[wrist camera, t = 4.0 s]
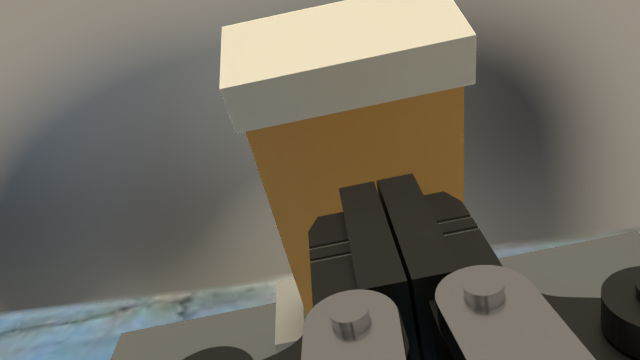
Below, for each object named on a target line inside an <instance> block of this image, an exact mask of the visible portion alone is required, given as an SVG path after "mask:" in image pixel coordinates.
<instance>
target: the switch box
mask: <svg viewBox="0 0 640 360" xmlns="http://www.w3.org/2000/svg"><path fill="white" fill-rule="evenodd" d="M499 261H500V263H501V264H502V266H503V267H506V268H509V269H512V270H515V271H517V272H519V273H521V274H522V275H524V276H525V277H527V278H528V279H529V280H530V281H531V282H532V284H533V285H534V286H535V287H536V288H537V290H538V291H539V292H540V293H542V294H546V295H551V296H559V297H591V298H601V287H602V284H603V282H604V281H605V280H606V279H607V278H608V277H609V276H610V275H611V274H613V273H615V272H617V271H620V270H622V269H625V268H630V267H635V266H640V234H639V233H638V232H637V231H636V232H631V233H626V234H621V235H616V236H611V237H606V238H601V239H596V240H591V241H586V242H581V243H575V244H570V245H565V246H560V247H555V248H550V249H545V250H540V251H535V252H530V253H525V254H520V255H515V256H510V257H505V258H500V259H499ZM306 316H307V315H306V312H305V309H304V306H303V303H302V300H301V297H300V294H299V291H298V288H297V285H296V282H295V279H290V280H285V281H280V282H277V288H276V303H273V304H267V305H262V306H257V307H252V308H247V309H242V310H237V311H232V312H227V313H222V314H217V315H212V316H207V317H202V318H197V319H192V320H187V321H182V322H177V323H172V324H166V325H161V326H156V327H151V328H146V329H141V330H136V331H131V332H126V333H121V336H120V338H119V341H118V343H117V345H116V348H115V350H114V353H113V355H112V358H111V360H183V359H184V358H186V357H188V356H190V355H192V354H193V353H196V352H198V351H201V350H204V349H207V348H211V347H218V346H231V347H236V348H240V349H242V350H244V351H246V352H247V353H248V354H250V355H251V357H252V358H253V359H254V360H263V359H265V358H268V357H270V356H272V355H274V354H277V353H279V352H281V351H282V350H284V349H286V348H288V347H289V346H291V345H292V344H293V343H295V342H296V341H297V340H298V339H299V338H300V337H301V336H302V335H303V326H304V321H305V318H306Z"/></svg>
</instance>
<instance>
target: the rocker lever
mask: <svg viewBox="0 0 640 360" xmlns="http://www.w3.org/2000/svg"><path fill="white" fill-rule="evenodd" d="M220 65H221V66H220V92H221V95H222V97H223V101H224V103H225V106H226V109H227V112H228V115H229V118H230V120H231V123H232V126H233V129H234V132H235V134H237V133H242V132H246V135H247V138H248V141H249V144H250V147H251V150H252V152H253V156H254V158H255V162H256V165H257V168H258V171H259V174H260V177H261V179H262V183H263V186H264V189H265V192H266V195H267V198H268V201H269V204H270V207H271V210H272V213H273V216H274V219H275V222H276V225H277V228H278V231H279V234H280V237H281V240H282V243H283V246H284V249H285V252H286V254H287V258H288V261H289V264H290V267H291V270H292V273H293V276H294V279H295V282H296V285H297V288H298V291H299V294H300V297H301V300H302V303H303V306H304V309H305V312H306V315H307V314H308V313H309V312H310V310H311V309H312V308H313V301H312V285H311V270H310V254H309V250H310V249H309V238H308V231H309V230H310V228H311V226H312V225H313V223H314V222H315V220H316V219H317V217H319V216H324V215H329V214H334V213H339V212H343V208H342V203H341V198H340V192H339V188H342V187H347V186H352V185H357V184H362V183H367V182H372V181H374V183H375V186H376V189H377V180H381V179H386V178H391V177H396V176H401V175H406V174H411V173H412V174H413V175H414V177H415V179H416V181H417V183H418V185H419V187H420V189H421V191H422V193H423V195H428V194H433V193H438V192H442V191H444V192H446V193H448V194H450V195H452V196H453V197H455V198H457V199H459V200H461V201H462V202H463V204H464V86H467V85H472V84H475V82H476V34H475V32H474V31H473V29H472V28H471V26H470V25H469V23H468V22H467V20H466V19H465V17H464V16H463V14H462V13H461V11H460V10H459V8H458V7H457V5H456V4H455V2H454V1H453V0H344V1H340V2H336V3H330V4H326V5H321V6H317V7H312V8H307V9H303V10H298V11H293V12H289V13H284V14H280V15H275V16H271V17H266V18H261V19H256V20H252V21H247V22H242V23H238V24H233V25H228V26H224V27H222V39H221V64H220ZM377 192H378V190H377Z"/></svg>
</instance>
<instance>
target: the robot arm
mask: <svg viewBox="0 0 640 360" xmlns="http://www.w3.org/2000/svg"><path fill="white" fill-rule="evenodd" d="M377 190H378V192H377ZM339 192H340V198H341V203H342V208H343V212H339V213H334V214H329V215H324V216H319V217H317V219H316V220H315V222H314V223H313V225H312V226H311V228H310V230H309V231H308V238H309V249H310V250H309V254H310V270H311V285H312V301H313V308H312V309H311V310H310V312H309V313H308V314H307V316H306V318H305V321H304V326H303V335H302V336H301V337H300V338H299V339H298V340H297V341H296V342H295V343H293V344H292V345H291V346H289V347H288V348H286V349H284V350H282V351H281V352H279V353H277V354H274V355H272V356H270V357H268V358H265V359H263V360H640V266H635V267H630V268H625V269H622V270H620V271H617V272H615V273H613V274H611V275H610V276H609V277H608V278H607V279H606V280H605V281H604V282H603V284H602V287H601V298H591V297H559V296H551V295H546V294H542V293H540V292H539V291H538V290H537V288H536V287H535V286H534V285H533V284H532V282H531V281H530V280H529V279H528V278H527V277H525V276H524V275H522V274H521V273H519V272H517V271H515V270H512V269H509V268H506V267H503V266H502V264H501V263H500V261H499V259H498V258H497V256H496V255H495V253H494V252H493V250H492V248H491V247H490V245H489V244H488V242H487V240H486V239H485V237H484V236H483V234H482V233H481V231H480V229H478V227H477V225H476V223H475V221H474V220H473V218H471V216H470V214H469V212H468V210H467V209H466V207H465V206H464V204H463V202H462V201H461V200H459V199H457V198H455V197H453V196H452V195H450V194H448V193H446V192H444V191H442V192H438V193H433V194H428V195H423V193H422V191H421V189H420V187H419V185H418V183H417V181H416V179H415V177H414V175H413V174H412V173H411V174H406V175H401V176H396V177H391V178H386V179H381V180H377V189H376V186H375V183H374V181H372V182H367V183H362V184H357V185H352V186H347V187H342V188H339ZM183 360H254V359H253V358H252V357H251V355H250V354H248V353H247V352H246V351H244V350H242V349H240V348H236V347H231V346H218V347H211V348H207V349H204V350H201V351H198V352H196V353H193V354H192V355H190V356H188V357H186V358H184V359H183Z"/></svg>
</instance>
